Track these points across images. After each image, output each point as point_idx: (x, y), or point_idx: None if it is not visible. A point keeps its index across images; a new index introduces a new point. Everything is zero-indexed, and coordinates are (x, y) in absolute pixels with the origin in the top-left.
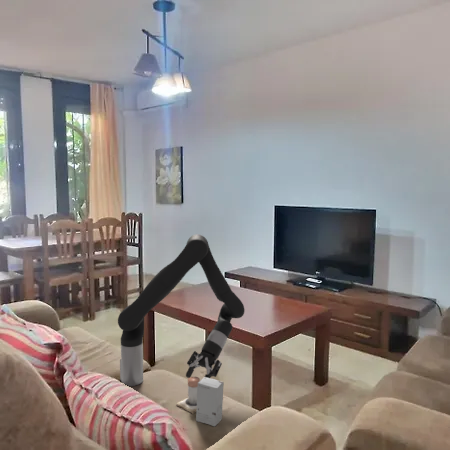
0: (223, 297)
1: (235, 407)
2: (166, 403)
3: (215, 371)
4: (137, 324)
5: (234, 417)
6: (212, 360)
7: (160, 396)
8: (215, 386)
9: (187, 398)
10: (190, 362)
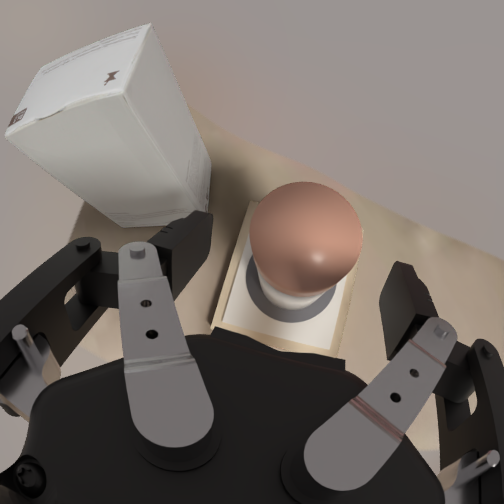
0: None
1: (96, 334)
2: (405, 227)
3: (78, 320)
4: None
5: None
6: (53, 392)
7: (457, 266)
8: (47, 68)
9: (339, 290)
10: (472, 369)
